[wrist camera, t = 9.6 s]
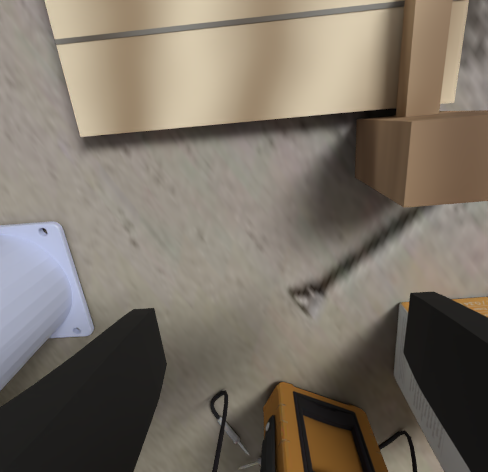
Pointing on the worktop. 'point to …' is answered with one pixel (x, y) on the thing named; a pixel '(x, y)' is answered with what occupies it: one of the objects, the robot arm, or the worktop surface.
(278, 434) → the multimeter
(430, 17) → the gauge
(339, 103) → the board
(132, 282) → the worktop surface
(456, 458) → the small box
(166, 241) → the worktop surface
